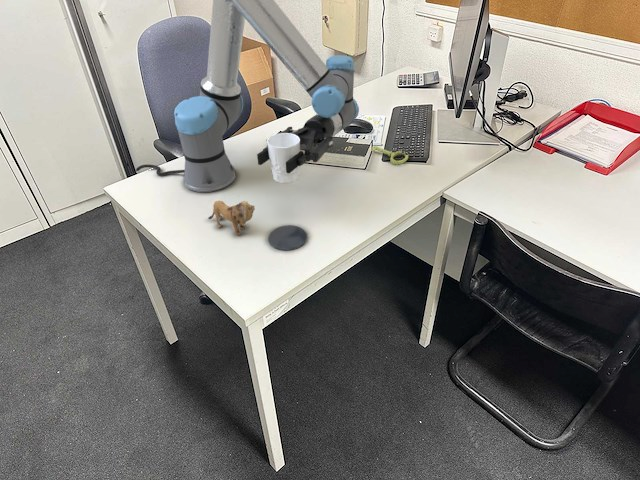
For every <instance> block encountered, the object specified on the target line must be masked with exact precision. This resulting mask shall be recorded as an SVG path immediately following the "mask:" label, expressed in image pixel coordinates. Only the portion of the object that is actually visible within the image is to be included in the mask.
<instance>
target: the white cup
mask: <svg viewBox="0 0 640 480" xmlns="http://www.w3.org/2000/svg"><path fill="white" fill-rule="evenodd" d="M278 133H279V134H278ZM278 133H275V134H272V135H271V136H269V137H268V138H266V140H267V142H266V147H267V146H268V152H269V164H270V169H271V172H272V173H271V174H272V178H273V180H274V181H275V182H277V183H280V184H291V183H294V182H296V181H297V180H299V179H300V177H301V166H298V167H297V168H295V169H294V170H293V171H292V172H290V173H286V162H287V161H288V160H290V159H291V158H292V157H294V156H295V155H297V154H298V153H299V152H300V151H301V145H300V138H299V137H298V136H297V135H295V134H291V133H280V132H278Z"/></svg>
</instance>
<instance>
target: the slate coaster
mask: <svg viewBox="0 0 640 480" xmlns="http://www.w3.org/2000/svg"><path fill="white" fill-rule="evenodd" d="M307 240H308V233H307V232H306V231H305V229H303V228H302V227H300V226H296V225H291V224H290V225H282V226H279V227H276V228H275V229H273V230H272V231H271V232H270V233H269V234H268V240H267V241H268V243H269V246H271V247H272V248H274V249H276V250H279V251H286V252H287V251H294V250H296V249H299V248H301V247H302V246H304V245H305V243H306V242H307Z"/></svg>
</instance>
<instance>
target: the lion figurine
mask: <svg viewBox="0 0 640 480" xmlns="http://www.w3.org/2000/svg"><path fill="white" fill-rule="evenodd" d="M212 209H213V210H212V214H211V215H210V216H208V220H211V219H213V218H214V217H215V222H216V227H217V228H218V229H222V228H223V225H222V224H221V222H220V220H222V219H223V218H224V219H225V220H226V221H227V222H231V224H232V226H233V230H234V234H235V235H236V236H240V235H241V232H240V230H239V229H241V230H245V229H246V226H245V224H246V223H247V222H249V221H250V220H251V219H252V218H253V215H254V211H255V209H256V208H255V205H251V204H250V203H249V202H248V201H246V200H243V201H240V202H239V203H237V204H235V205H232V206H229V205H227V204H226V203H225V202H224V201H222V200H216V201H214V203H213V207H212Z"/></svg>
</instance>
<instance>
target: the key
mask: <svg viewBox="0 0 640 480" xmlns="http://www.w3.org/2000/svg"><path fill="white" fill-rule="evenodd" d="M370 151H372V152H375V151H378V152H380V153H381V154H384V155H387V156H388V157H389V160H390V161H389V162H390V163H391V164H393V165H402V164H404V163H406V162H407V161H408V159H409V154H408V155H406V154H405V153H400V152H402V151H403V150H399V151H398V150H397V151H395V152H393V150H390V151H389V150H387V149H385V148H382V147H379V146H377V145H373V146H372V148H370ZM398 156H403V157H404V158H403V159H400V160H396V159H395V158H396V157H398Z"/></svg>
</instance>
